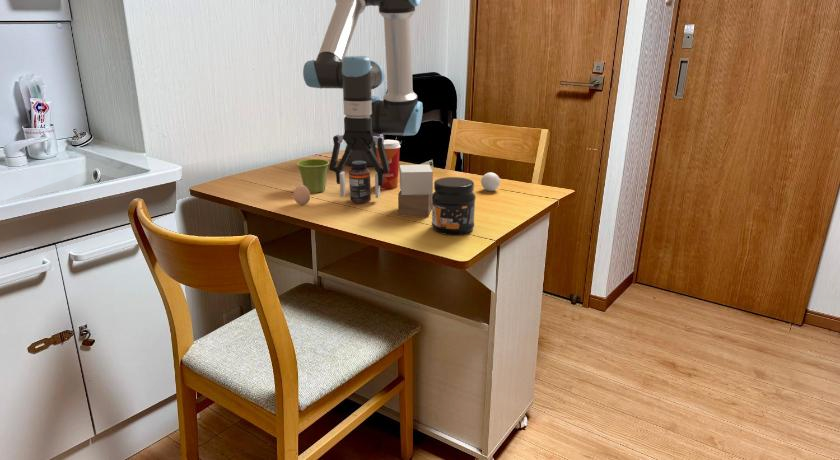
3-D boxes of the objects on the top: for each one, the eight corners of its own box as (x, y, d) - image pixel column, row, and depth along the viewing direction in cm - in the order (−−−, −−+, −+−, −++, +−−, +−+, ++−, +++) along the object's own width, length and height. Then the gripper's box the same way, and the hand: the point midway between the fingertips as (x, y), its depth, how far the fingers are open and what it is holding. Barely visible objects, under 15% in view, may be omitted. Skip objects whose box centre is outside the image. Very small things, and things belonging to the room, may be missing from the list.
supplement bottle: (362, 196, 167) (360, 158, 164) (375, 201, 164) (374, 162, 160) (345, 201, 164) (344, 161, 160) (358, 205, 160) (357, 165, 156)
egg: (291, 204, 160) (290, 184, 158) (306, 201, 163) (305, 182, 161) (298, 208, 157) (297, 188, 155) (313, 205, 159) (312, 185, 158)
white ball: (481, 187, 178) (482, 169, 176) (499, 188, 177) (500, 170, 175) (479, 194, 171) (479, 176, 169) (498, 195, 170) (499, 177, 168)
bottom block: (403, 206, 159) (403, 185, 157) (432, 208, 158) (432, 187, 156) (398, 215, 152) (398, 193, 150) (428, 217, 151) (428, 195, 149)
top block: (399, 186, 156) (399, 165, 154) (429, 186, 157) (429, 164, 155) (401, 195, 149) (401, 172, 147) (432, 194, 149) (432, 171, 147)
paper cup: (370, 186, 178) (369, 141, 173) (388, 182, 183) (388, 138, 178) (388, 191, 173) (387, 145, 168) (406, 186, 178) (406, 141, 173)
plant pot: (324, 196, 168) (322, 167, 165) (293, 194, 170) (291, 165, 167) (335, 187, 177) (333, 160, 174) (306, 185, 178) (304, 158, 175)
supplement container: (423, 231, 141) (423, 183, 136) (444, 219, 149) (445, 174, 145) (461, 239, 135) (463, 190, 131) (481, 226, 144) (483, 180, 140)
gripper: (314, 116, 153) (318, 197, 161) (395, 119, 150) (396, 201, 158) (322, 112, 160) (326, 190, 168) (400, 115, 157) (401, 193, 165)
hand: (360, 195), depth 163 cm, fingers open, 9 cm apart
